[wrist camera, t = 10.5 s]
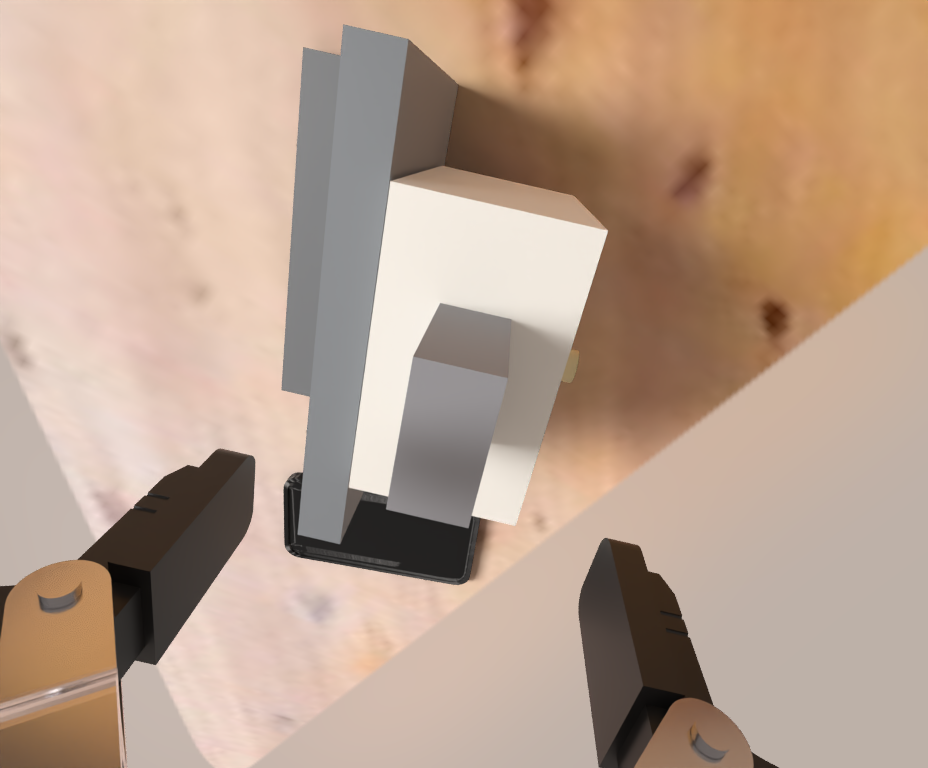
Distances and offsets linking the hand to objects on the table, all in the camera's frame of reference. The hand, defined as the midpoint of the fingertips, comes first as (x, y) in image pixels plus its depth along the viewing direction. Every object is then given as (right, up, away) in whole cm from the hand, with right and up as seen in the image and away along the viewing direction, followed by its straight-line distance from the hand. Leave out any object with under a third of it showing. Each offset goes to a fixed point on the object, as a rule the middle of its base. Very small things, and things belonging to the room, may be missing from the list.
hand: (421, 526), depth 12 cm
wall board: (-2, +11, +21) cm, 23 cm away
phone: (-5, -8, +30) cm, 32 cm away
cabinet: (+2, +8, +18) cm, 20 cm away
